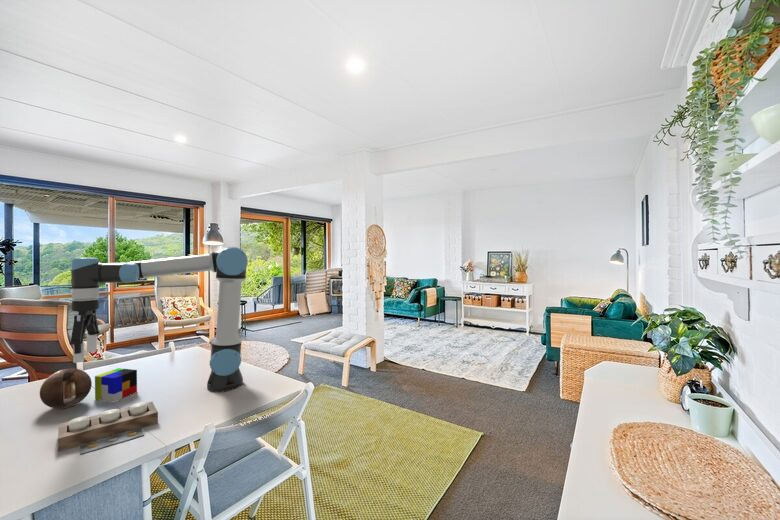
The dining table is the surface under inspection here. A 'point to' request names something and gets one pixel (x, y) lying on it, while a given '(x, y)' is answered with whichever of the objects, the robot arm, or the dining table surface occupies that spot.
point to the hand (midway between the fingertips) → (85, 356)
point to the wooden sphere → (65, 388)
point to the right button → (138, 408)
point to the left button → (78, 423)
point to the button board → (107, 430)
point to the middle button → (109, 415)
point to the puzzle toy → (115, 384)
